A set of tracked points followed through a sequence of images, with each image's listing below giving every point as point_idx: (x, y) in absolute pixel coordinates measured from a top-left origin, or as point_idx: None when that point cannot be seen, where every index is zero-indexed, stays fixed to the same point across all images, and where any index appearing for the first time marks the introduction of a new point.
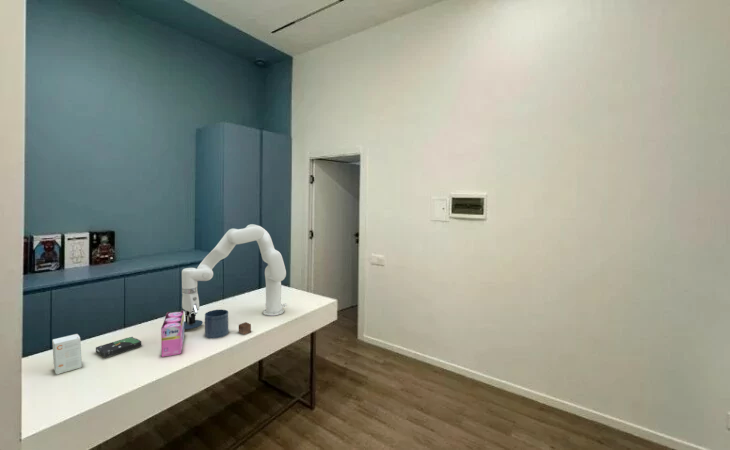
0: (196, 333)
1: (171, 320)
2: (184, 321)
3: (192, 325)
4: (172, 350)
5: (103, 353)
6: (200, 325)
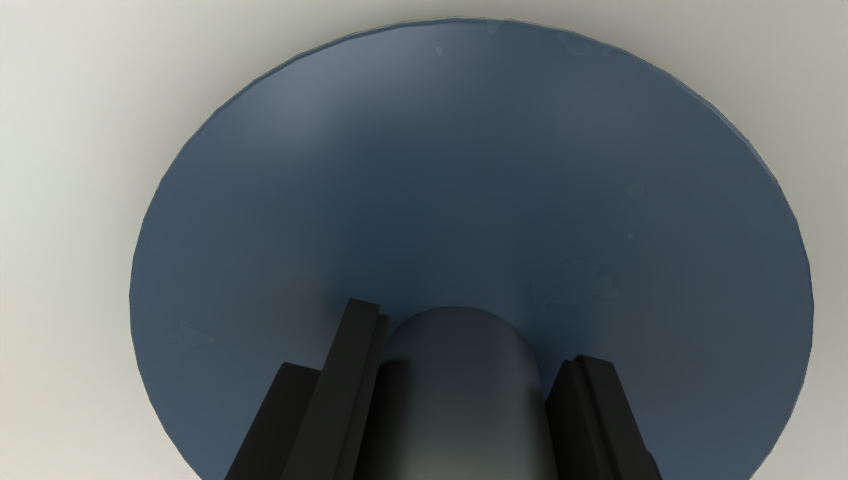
0: (823, 468)
1: None
2: (131, 299)
3: None
4: None
5: None
6: (804, 320)
